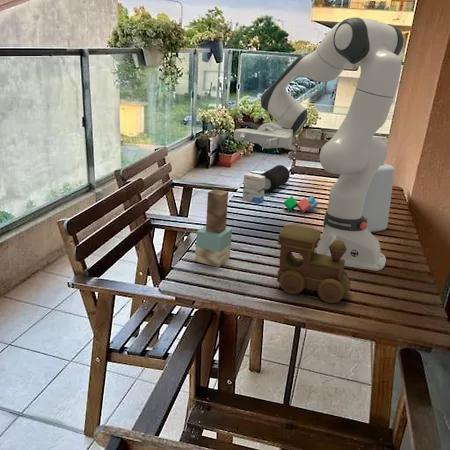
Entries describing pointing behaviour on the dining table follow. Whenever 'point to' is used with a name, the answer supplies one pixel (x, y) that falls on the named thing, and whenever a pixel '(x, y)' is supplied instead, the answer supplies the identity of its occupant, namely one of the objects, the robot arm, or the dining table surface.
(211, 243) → the upper block
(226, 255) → the lower block
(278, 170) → the portable speaker
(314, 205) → the building blocks
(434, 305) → the dining table surface
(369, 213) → the plastic bottle
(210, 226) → the walnut post
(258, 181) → the ink box
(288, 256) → the wooden toy train
